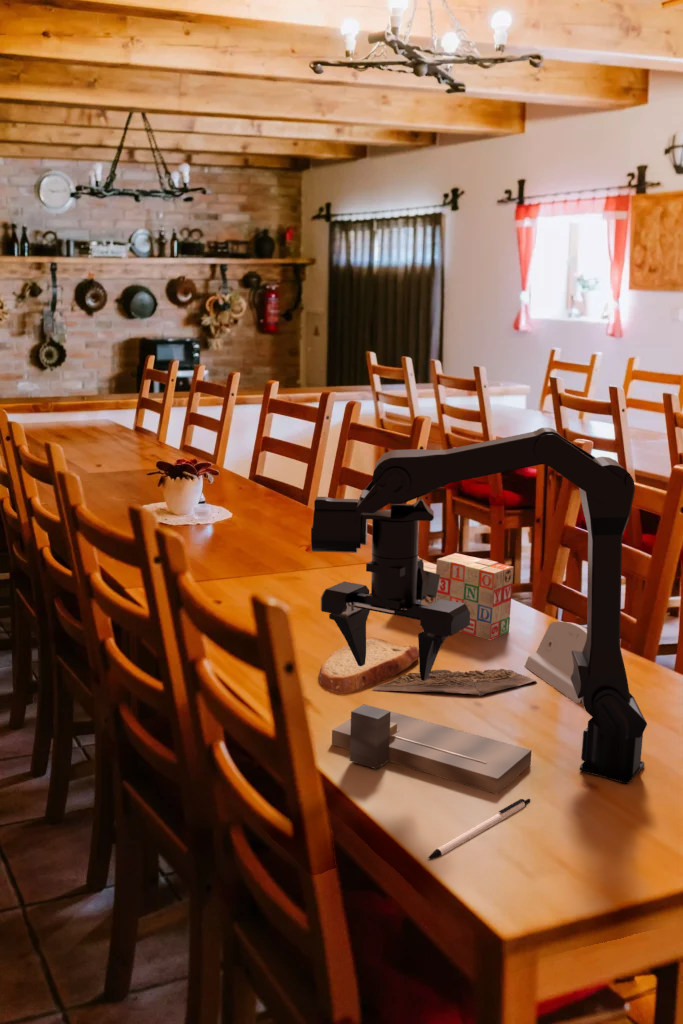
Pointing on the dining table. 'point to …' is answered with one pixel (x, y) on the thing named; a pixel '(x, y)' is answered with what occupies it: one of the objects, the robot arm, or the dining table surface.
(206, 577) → the dining table surface
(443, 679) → the wooden fragment
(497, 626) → the stack of blocks
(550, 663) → the beige ledged stand
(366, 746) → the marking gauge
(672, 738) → the dining table surface
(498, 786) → the gray rectangular board
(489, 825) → the pen
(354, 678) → the bread slice
